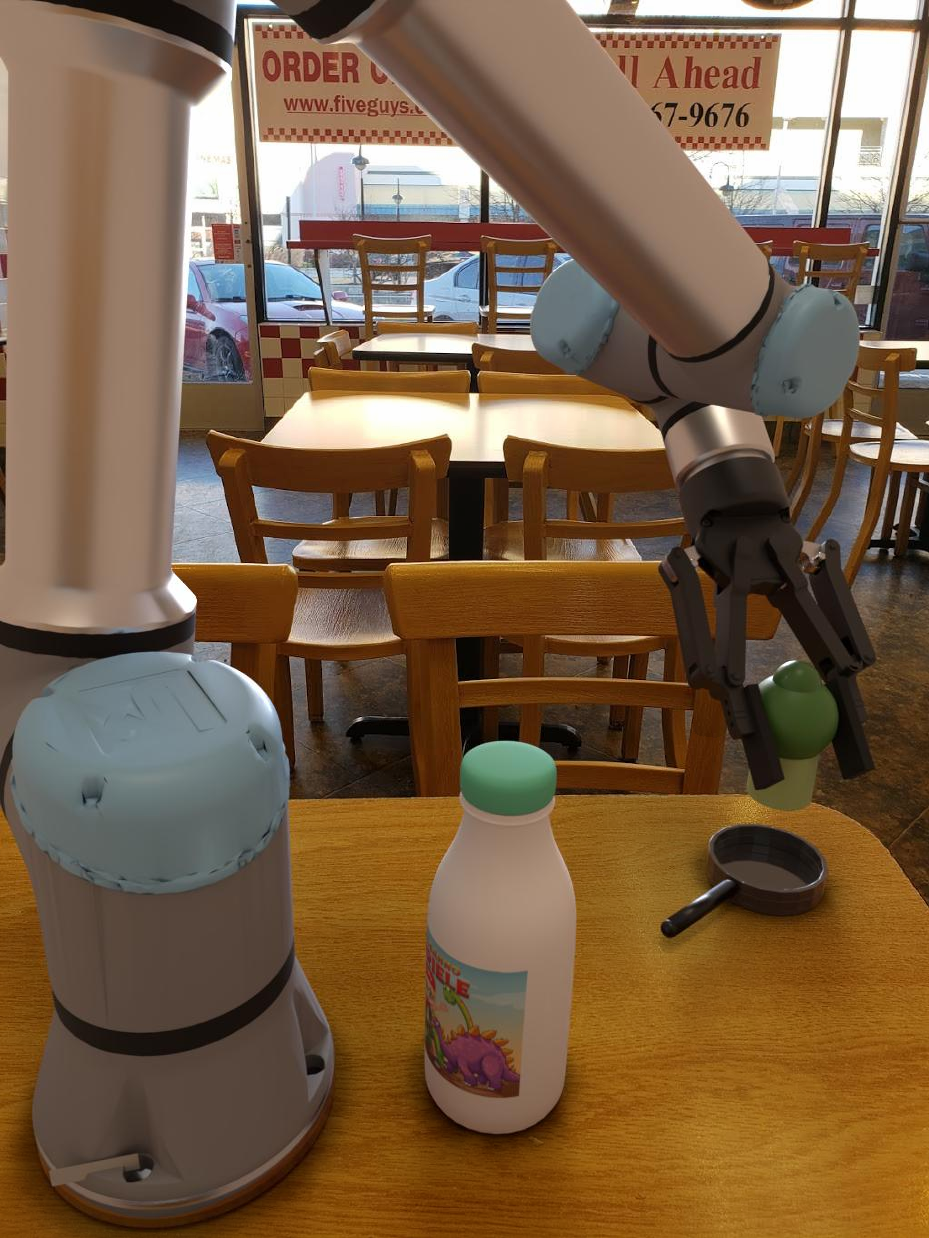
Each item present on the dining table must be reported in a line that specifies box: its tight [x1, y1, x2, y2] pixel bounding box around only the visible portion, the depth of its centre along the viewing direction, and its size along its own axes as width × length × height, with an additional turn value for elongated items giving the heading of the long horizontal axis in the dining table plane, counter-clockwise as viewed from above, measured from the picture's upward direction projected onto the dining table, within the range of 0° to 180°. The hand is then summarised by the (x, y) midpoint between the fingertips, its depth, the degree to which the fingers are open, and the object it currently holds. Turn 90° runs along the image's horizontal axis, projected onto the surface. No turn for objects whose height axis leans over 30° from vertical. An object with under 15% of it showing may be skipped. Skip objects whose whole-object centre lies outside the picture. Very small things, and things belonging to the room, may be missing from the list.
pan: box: [705, 823, 829, 917], centre depth 69 cm, size 8×8×2 cm
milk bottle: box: [424, 740, 577, 1135], centre depth 48 cm, size 8×8×20 cm
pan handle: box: [660, 880, 737, 939], centre depth 64 cm, size 1×8×1 cm, turn 131°
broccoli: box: [746, 659, 839, 812], centre depth 65 cm, size 6×6×10 cm
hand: (814, 778), depth 62 cm, fingers closed on broccoli, 6 cm apart
